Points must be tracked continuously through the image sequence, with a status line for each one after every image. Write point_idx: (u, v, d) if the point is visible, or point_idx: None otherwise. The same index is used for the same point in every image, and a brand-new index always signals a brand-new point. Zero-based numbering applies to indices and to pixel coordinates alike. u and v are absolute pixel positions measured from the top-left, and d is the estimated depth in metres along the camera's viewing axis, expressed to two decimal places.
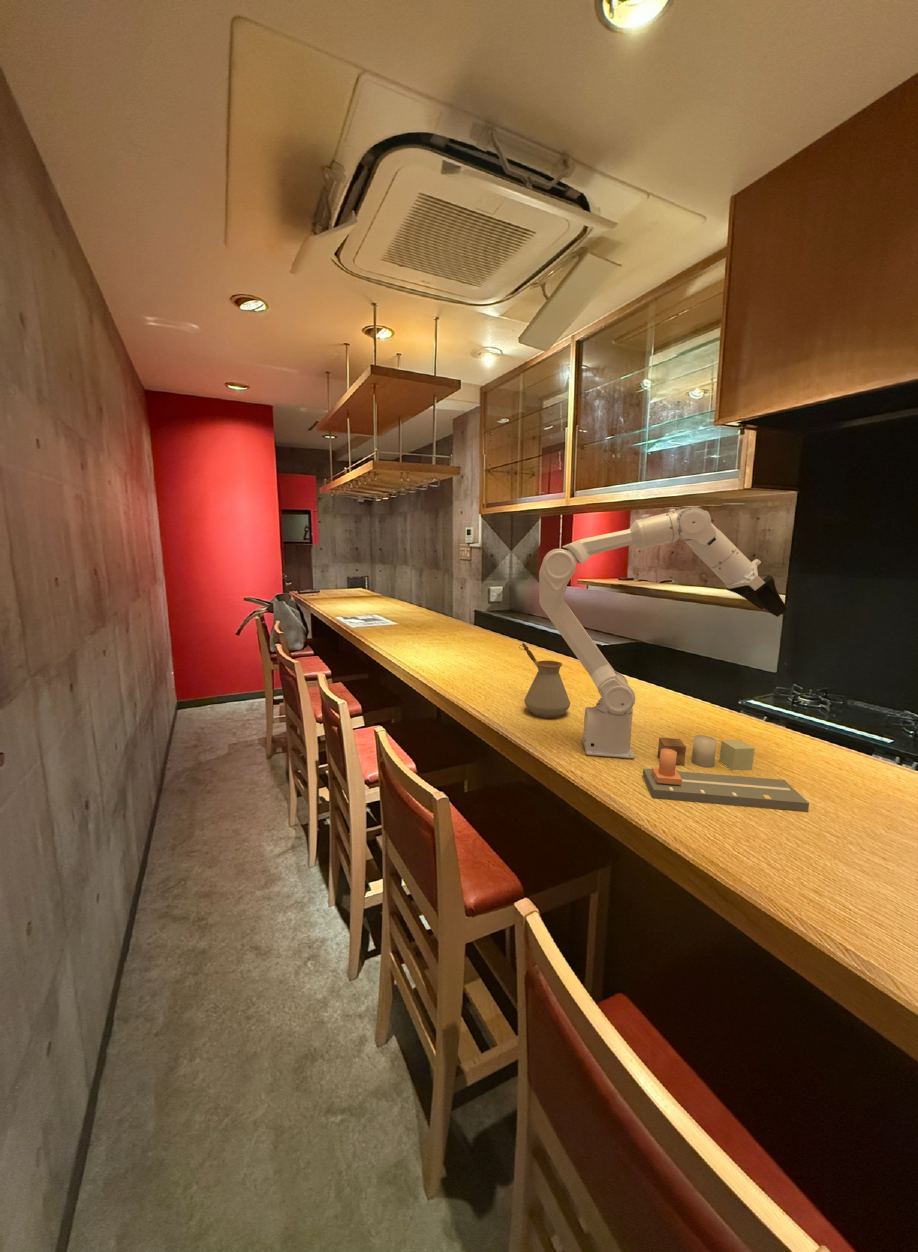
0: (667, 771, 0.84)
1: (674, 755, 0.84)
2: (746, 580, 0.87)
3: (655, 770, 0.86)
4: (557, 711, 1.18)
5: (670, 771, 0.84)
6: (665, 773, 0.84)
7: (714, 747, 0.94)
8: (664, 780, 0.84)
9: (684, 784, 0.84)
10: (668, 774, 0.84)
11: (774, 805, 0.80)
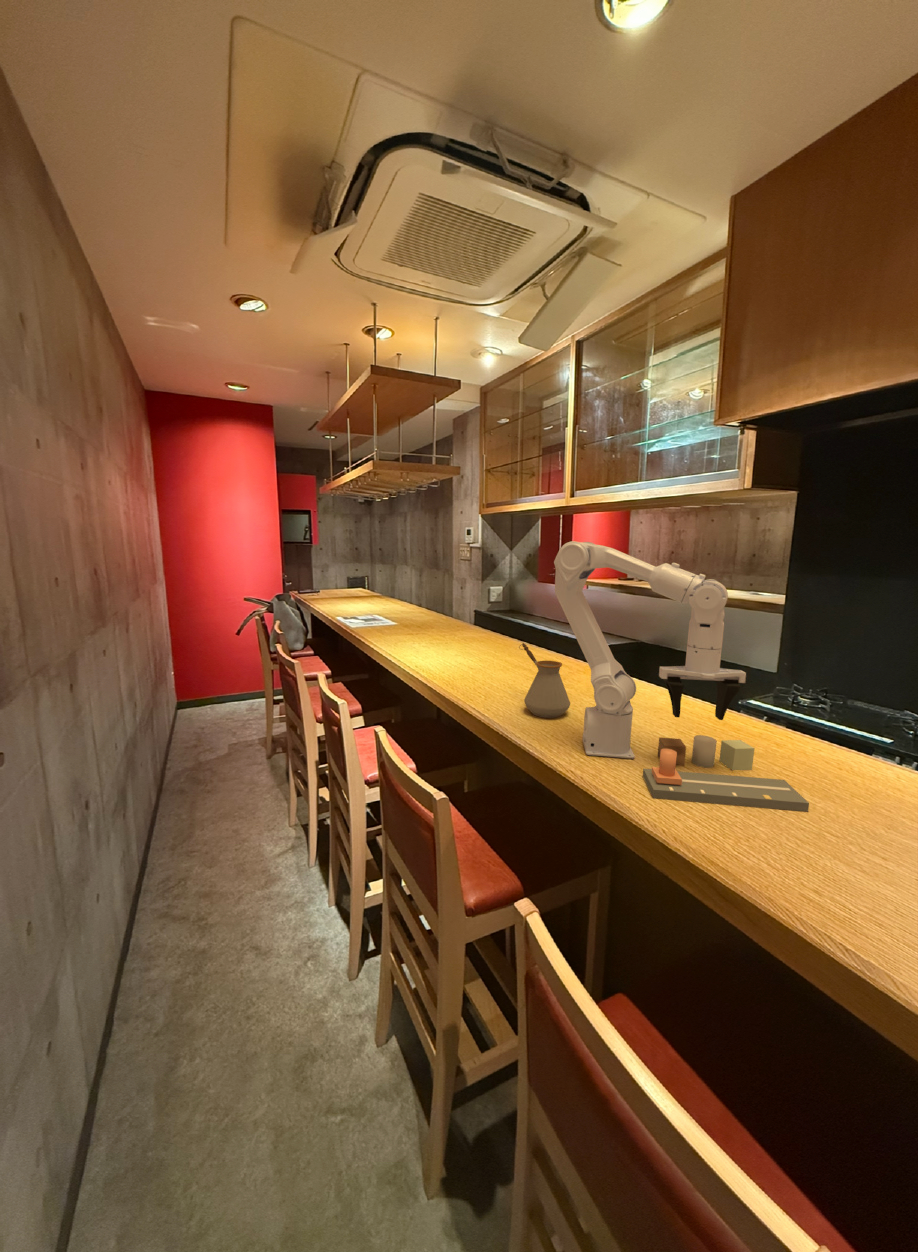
0: (667, 771, 0.84)
1: (674, 755, 0.84)
2: None
3: (655, 770, 0.86)
4: (557, 711, 1.18)
5: (670, 771, 0.84)
6: (665, 773, 0.84)
7: (714, 747, 0.94)
8: (664, 780, 0.84)
9: (684, 784, 0.84)
10: (668, 774, 0.84)
11: (774, 805, 0.80)
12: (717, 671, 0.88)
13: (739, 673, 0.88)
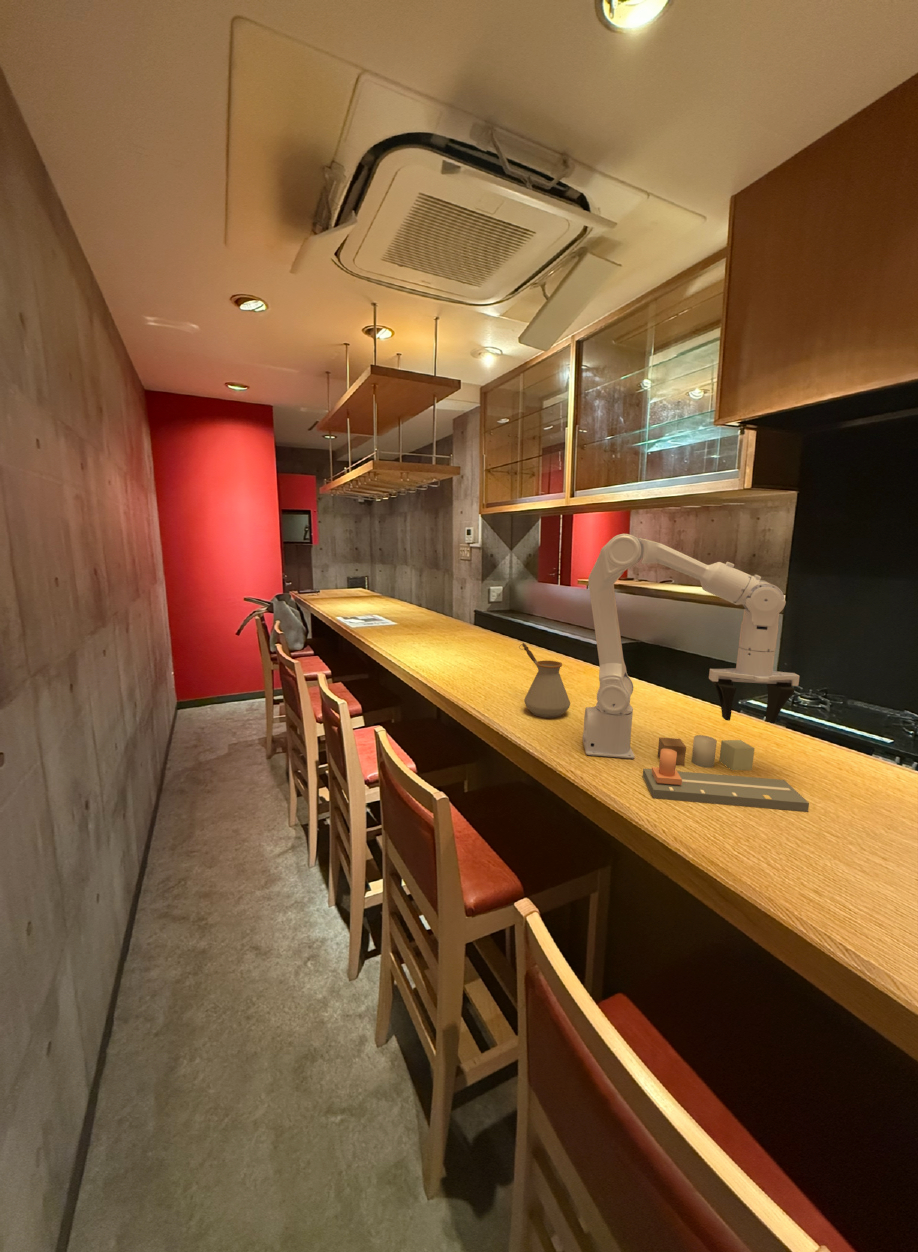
0: (667, 771, 0.84)
1: (674, 755, 0.84)
2: (724, 671, 0.90)
3: (655, 770, 0.86)
4: (557, 711, 1.18)
5: (670, 771, 0.84)
6: (665, 773, 0.84)
7: (714, 747, 0.94)
8: (664, 780, 0.84)
9: (684, 784, 0.84)
10: (668, 774, 0.84)
11: (774, 805, 0.80)
12: (770, 674, 0.87)
13: (792, 676, 0.87)
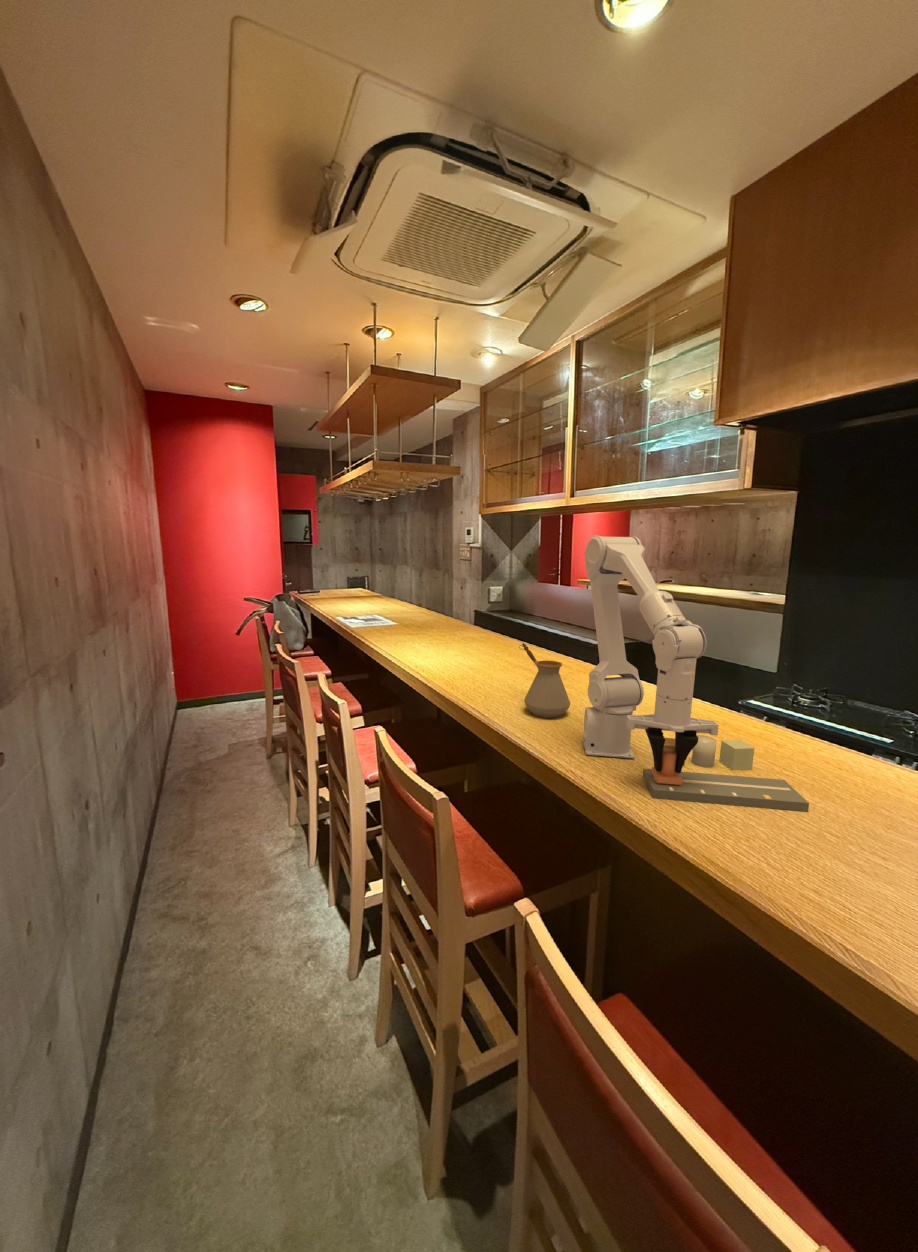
0: (667, 771, 0.84)
1: (674, 755, 0.84)
2: (641, 718, 0.85)
3: (655, 770, 0.86)
4: (557, 711, 1.18)
5: (670, 771, 0.84)
6: (665, 773, 0.84)
7: (714, 747, 0.94)
8: (664, 780, 0.84)
9: (684, 784, 0.84)
10: (668, 774, 0.84)
11: (774, 805, 0.80)
12: (687, 723, 0.82)
13: (711, 725, 0.82)
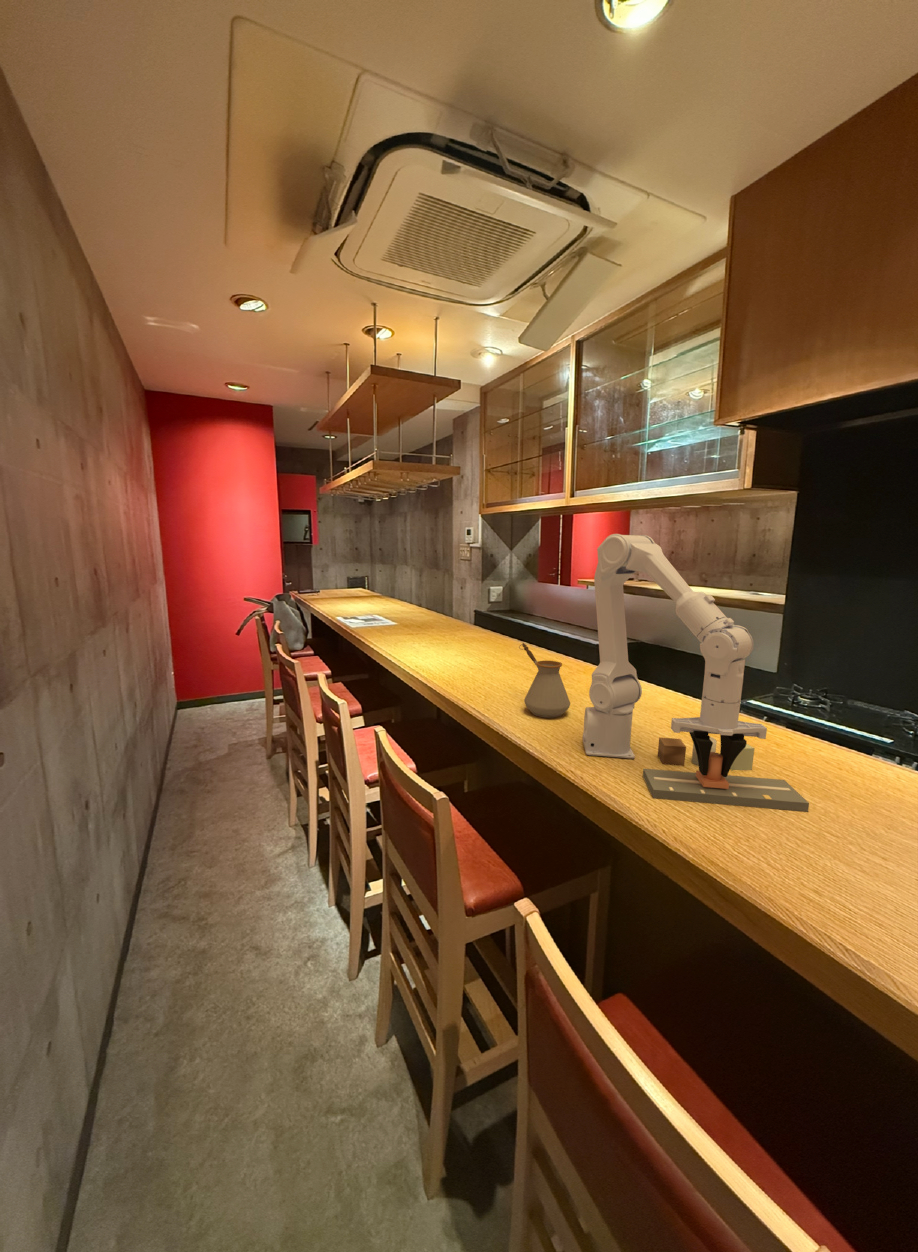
0: (713, 775, 0.83)
1: (721, 759, 0.83)
2: None
3: (700, 774, 0.85)
4: (557, 711, 1.18)
5: (716, 775, 0.83)
6: (711, 777, 0.83)
7: (714, 747, 0.94)
8: (711, 783, 0.83)
9: (684, 784, 0.84)
10: (714, 778, 0.83)
11: (774, 805, 0.80)
12: (735, 726, 0.80)
13: (759, 728, 0.81)
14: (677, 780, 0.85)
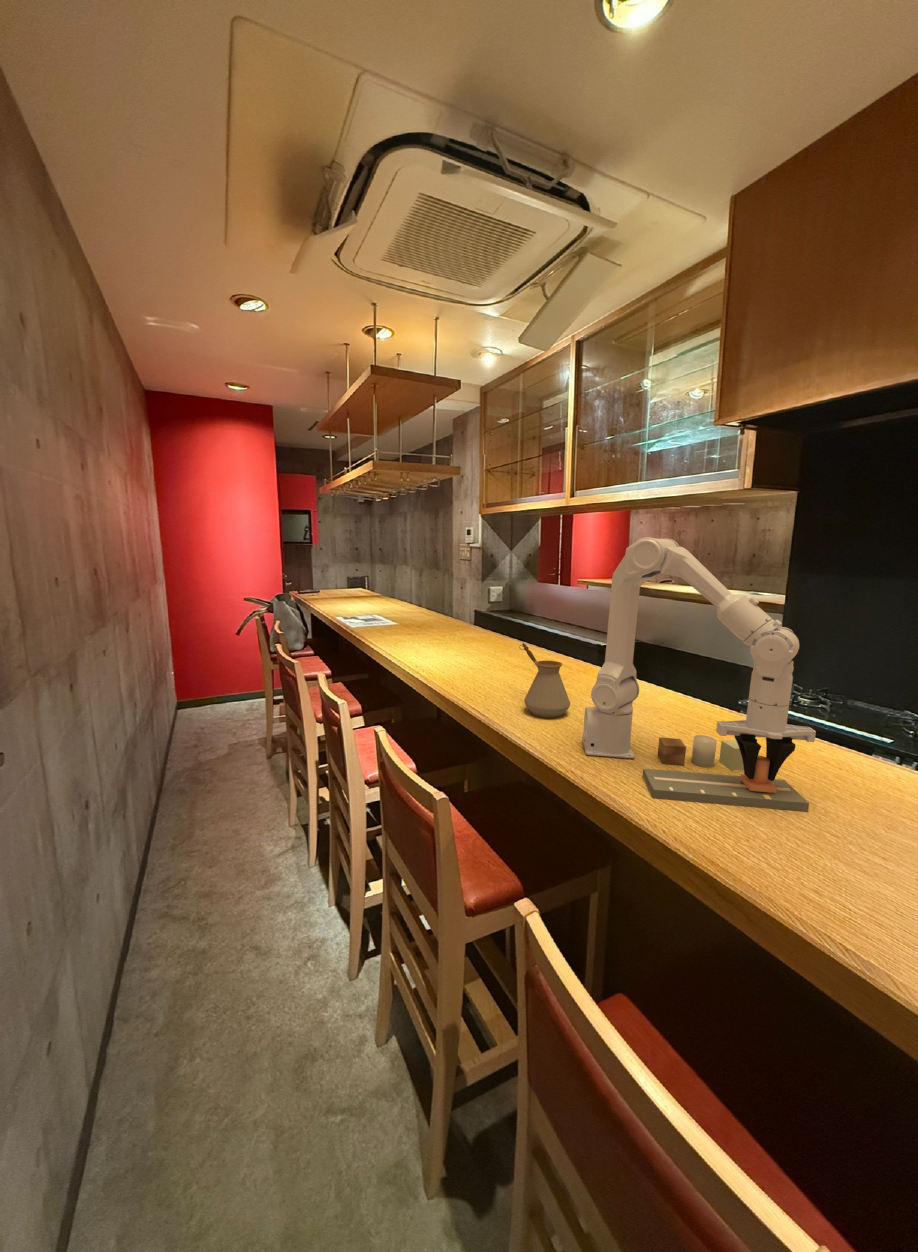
0: (760, 779, 0.82)
1: (768, 762, 0.81)
2: None
3: (745, 777, 0.84)
4: (557, 711, 1.18)
5: (763, 779, 0.82)
6: (758, 781, 0.82)
7: (714, 747, 0.94)
8: (758, 787, 0.81)
9: (684, 784, 0.84)
10: (761, 782, 0.82)
11: (774, 805, 0.80)
12: (784, 729, 0.79)
13: (808, 731, 0.80)
14: (677, 780, 0.85)
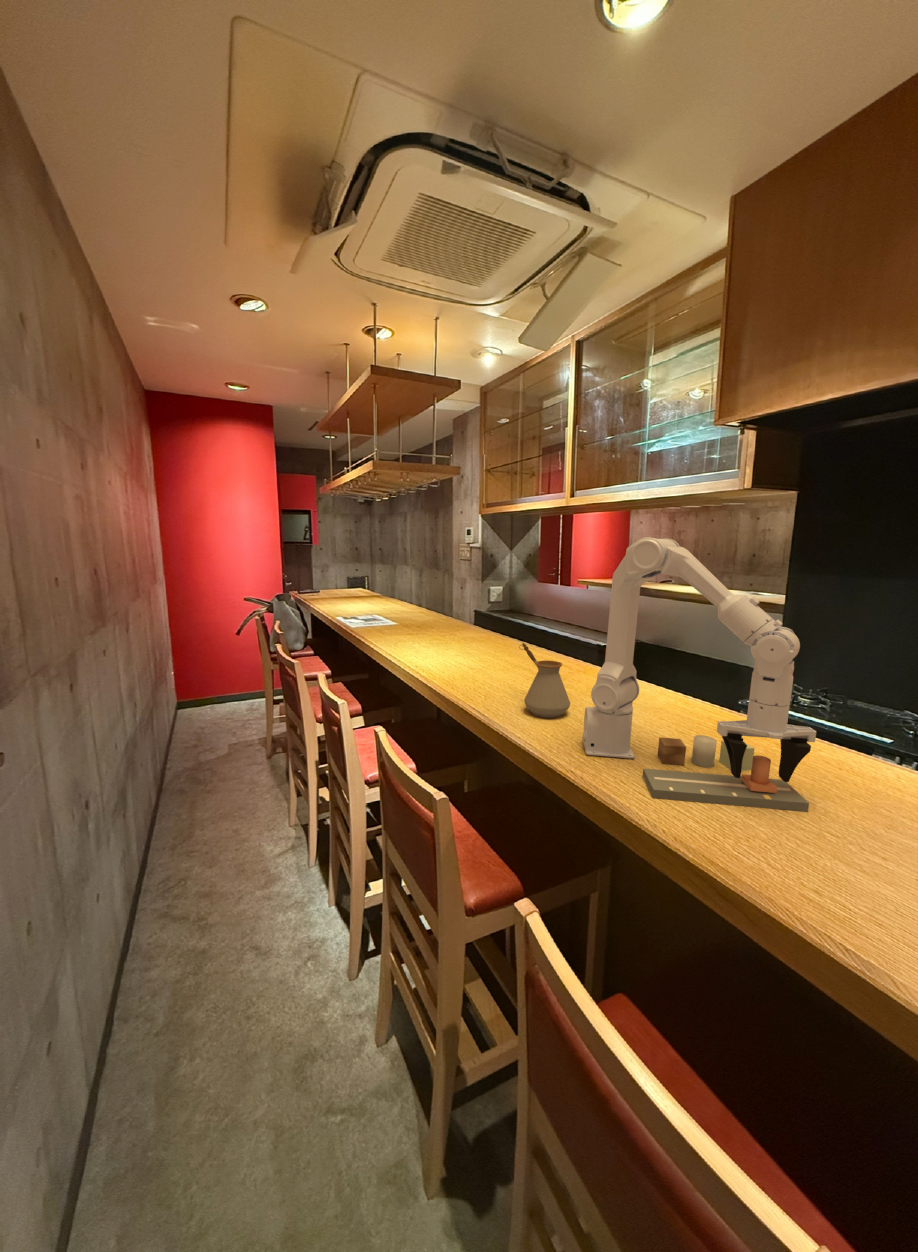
0: (761, 779, 0.82)
1: (769, 762, 0.81)
2: None
3: (746, 777, 0.84)
4: (557, 711, 1.18)
5: (764, 779, 0.82)
6: (759, 781, 0.82)
7: (714, 747, 0.94)
8: (759, 787, 0.81)
9: (684, 784, 0.84)
10: (762, 782, 0.82)
11: (774, 805, 0.80)
12: (785, 729, 0.79)
13: (809, 731, 0.80)
14: (677, 780, 0.85)
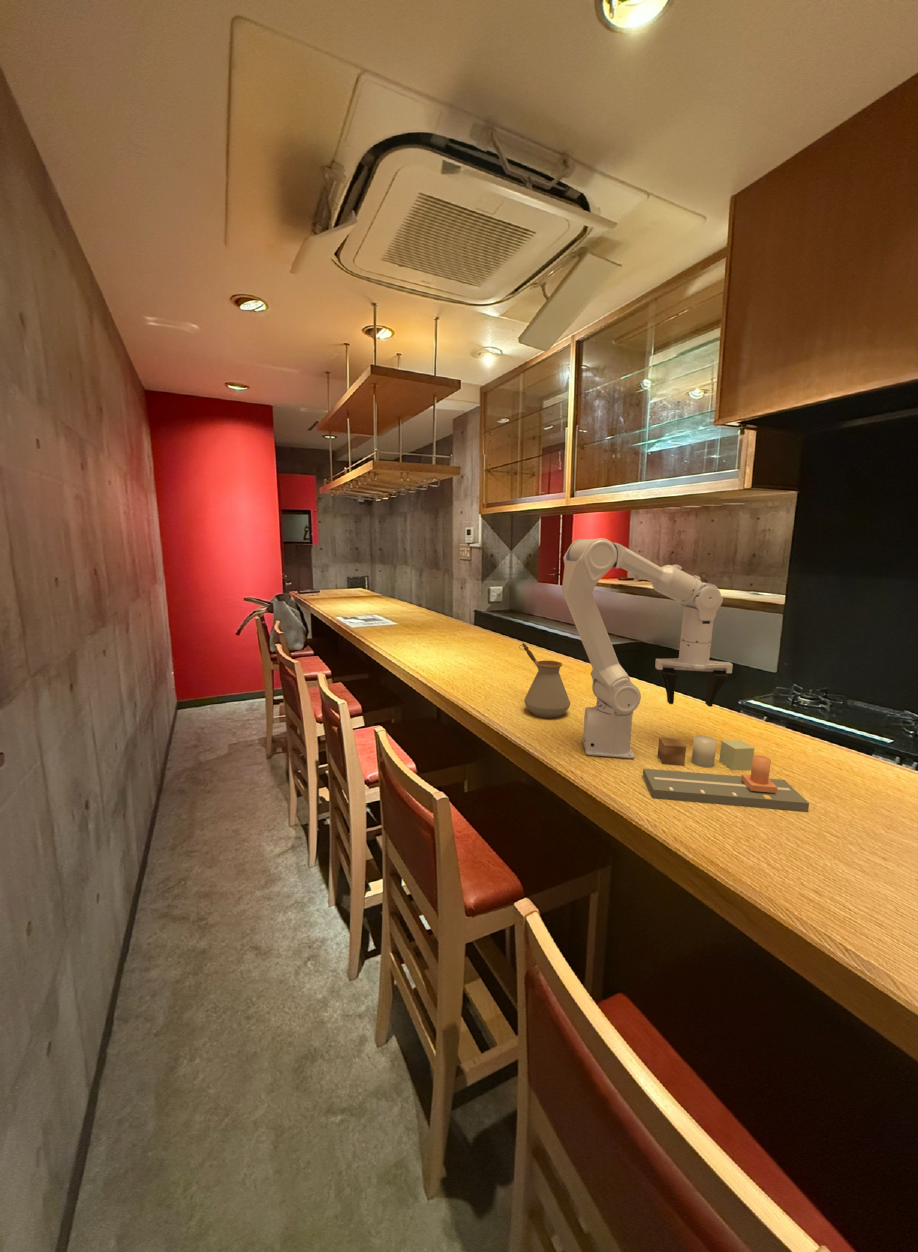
0: (761, 779, 0.82)
1: (769, 762, 0.81)
2: None
3: (746, 777, 0.84)
4: (557, 711, 1.18)
5: (764, 779, 0.82)
6: (759, 781, 0.82)
7: (714, 747, 0.94)
8: (759, 787, 0.81)
9: (684, 784, 0.84)
10: (762, 782, 0.82)
11: (774, 805, 0.80)
12: (707, 663, 0.99)
13: (726, 664, 0.99)
14: (677, 780, 0.85)
